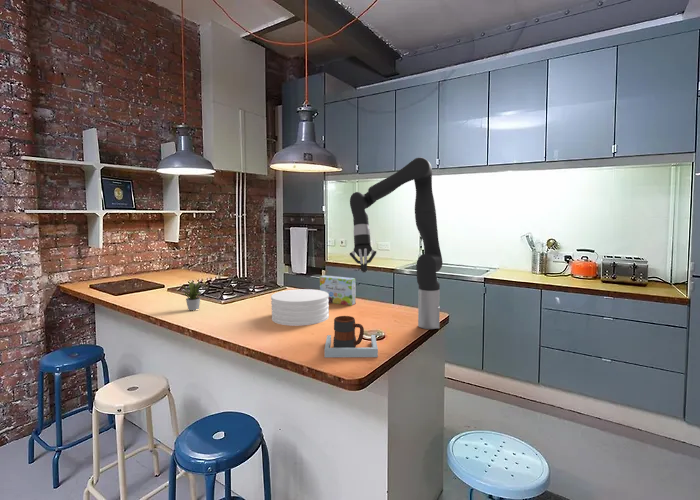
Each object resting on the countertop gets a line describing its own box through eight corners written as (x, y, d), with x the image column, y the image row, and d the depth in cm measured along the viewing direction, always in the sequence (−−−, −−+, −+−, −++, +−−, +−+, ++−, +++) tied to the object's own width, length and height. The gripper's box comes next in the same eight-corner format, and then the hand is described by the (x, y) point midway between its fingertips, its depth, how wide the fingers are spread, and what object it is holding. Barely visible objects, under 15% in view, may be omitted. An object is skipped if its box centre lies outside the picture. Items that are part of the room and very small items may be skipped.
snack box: (319, 302, 218) (319, 276, 217) (324, 300, 223) (324, 275, 222) (351, 306, 208) (351, 279, 207) (356, 303, 213) (356, 277, 212)
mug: (359, 355, 136) (359, 323, 135) (329, 350, 141) (329, 320, 139) (367, 347, 144) (367, 317, 143) (339, 343, 149) (338, 314, 147)
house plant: (215, 308, 205) (214, 278, 203) (194, 314, 192) (193, 283, 191) (197, 305, 211) (196, 277, 210) (176, 311, 199) (174, 281, 197)
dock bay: (375, 342, 149) (375, 334, 149) (377, 357, 134) (377, 348, 134) (327, 342, 149) (327, 335, 149) (324, 357, 134) (324, 349, 134)
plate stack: (338, 320, 181) (338, 297, 180) (283, 329, 167) (282, 304, 166) (314, 307, 205) (314, 287, 204) (264, 315, 192) (263, 292, 190)
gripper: (346, 234, 171) (349, 272, 168) (375, 232, 170) (378, 270, 167) (348, 237, 178) (350, 274, 175) (376, 235, 177) (378, 272, 174)
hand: (364, 272), depth 171 cm, fingers closed
